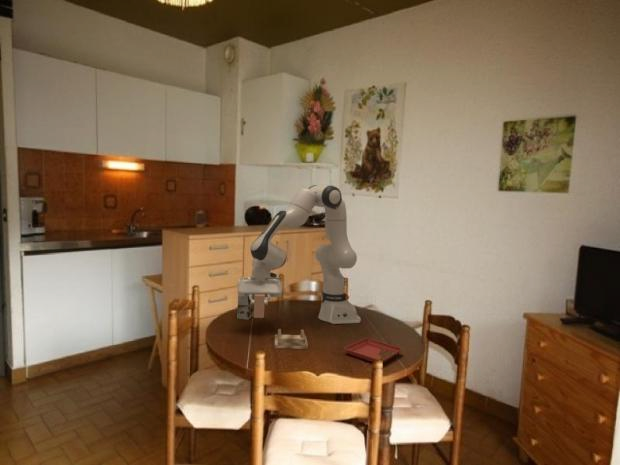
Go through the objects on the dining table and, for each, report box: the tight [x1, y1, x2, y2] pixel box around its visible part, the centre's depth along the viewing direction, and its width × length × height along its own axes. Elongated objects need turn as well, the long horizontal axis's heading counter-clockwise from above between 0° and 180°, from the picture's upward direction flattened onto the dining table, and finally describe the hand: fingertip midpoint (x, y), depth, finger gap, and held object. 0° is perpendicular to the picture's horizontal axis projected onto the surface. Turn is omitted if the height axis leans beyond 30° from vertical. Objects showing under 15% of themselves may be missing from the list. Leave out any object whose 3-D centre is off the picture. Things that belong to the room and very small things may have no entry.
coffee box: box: [236, 294, 254, 321], centre depth 211 cm, size 9×6×16 cm
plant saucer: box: [344, 337, 403, 363], centre depth 171 cm, size 18×18×3 cm
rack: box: [274, 328, 309, 350], centre depth 179 cm, size 14×13×4 cm
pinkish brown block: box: [253, 294, 266, 319], centre depth 186 cm, size 4×4×10 cm
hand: (259, 304), depth 185 cm, fingers closed on pinkish brown block, 4 cm apart
